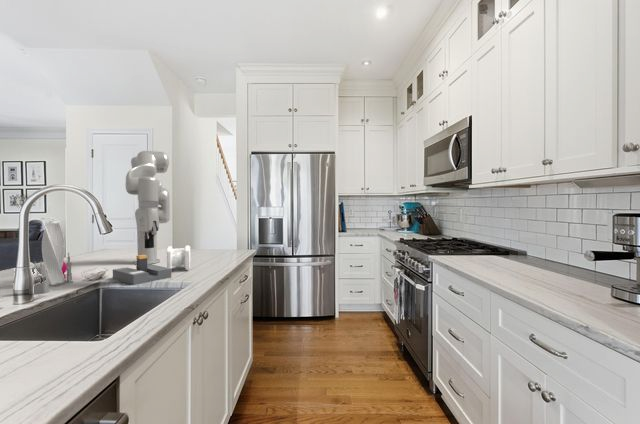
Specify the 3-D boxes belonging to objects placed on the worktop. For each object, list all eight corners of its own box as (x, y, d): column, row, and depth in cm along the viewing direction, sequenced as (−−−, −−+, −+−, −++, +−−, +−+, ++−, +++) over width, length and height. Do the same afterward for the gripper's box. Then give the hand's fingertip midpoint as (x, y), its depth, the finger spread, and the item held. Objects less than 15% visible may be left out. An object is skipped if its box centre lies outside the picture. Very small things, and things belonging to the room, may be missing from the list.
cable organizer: (168, 267, 166) (168, 245, 165) (190, 266, 170) (190, 244, 169) (167, 273, 152) (166, 249, 152) (190, 271, 156) (190, 247, 156)
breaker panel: (112, 278, 142) (112, 269, 141) (149, 272, 155) (149, 263, 154) (133, 284, 130) (133, 274, 130) (171, 277, 143) (171, 268, 143)
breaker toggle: (136, 273, 142) (136, 255, 142) (144, 271, 144) (143, 254, 144) (140, 273, 140) (139, 256, 140) (147, 272, 143) (147, 255, 142)
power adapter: (32, 292, 119) (31, 260, 119) (49, 291, 121) (48, 259, 121) (27, 294, 116) (26, 262, 116) (45, 293, 118) (44, 261, 118)
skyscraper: (51, 287, 127) (49, 217, 126) (37, 285, 129) (35, 217, 129) (73, 282, 135) (71, 216, 135) (58, 281, 137) (57, 216, 137)
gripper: (131, 206, 139) (132, 248, 139) (148, 205, 130) (149, 250, 130) (148, 206, 145) (149, 246, 145) (166, 205, 136) (166, 248, 136)
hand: (149, 247), depth 137 cm, fingers closed
